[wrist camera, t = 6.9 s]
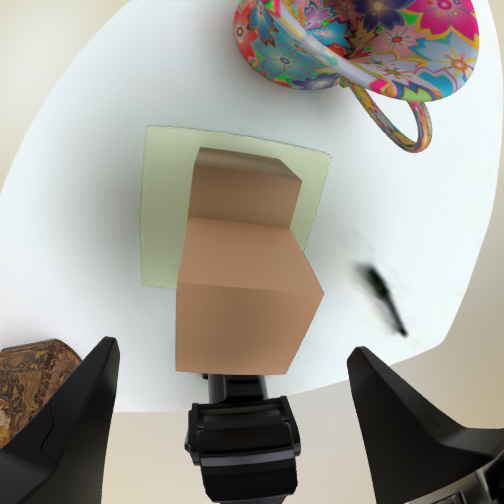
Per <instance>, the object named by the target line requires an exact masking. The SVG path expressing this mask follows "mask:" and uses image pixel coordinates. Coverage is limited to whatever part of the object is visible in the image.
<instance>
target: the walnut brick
mask: <svg viewBox="0 0 504 504" xmlns="http://www.w3.org/2000/svg"><path fill="white" fill-rule="evenodd" d="M301 185H302V180H301V179H300V178H299V177H298V176H297V175H296V174H295V173H294V172H293V171H292V170H291V169H289V168H288V167H287V166H286V165H285V164H284V163H283V162H282V161H281V160H280V159H277V158H271V157H266V156H260V155H254V154H248V153H242V152H235V151H229V150H221V149H214V148H206V147H200V149H199V152H198V154H197V157H196V160H195V163H194V168H193V175H192V183H191V191H190V200H189V209H188V218H189V217H198V218H207V219H215V220H223V221H232V222H240V223H247V224H255V225H263V226H270V227H278V228H285V229H290V225H291V222H292V218H293V214H294V211H295V207H296V203H297V200H298V196H299V192H300V188H301ZM187 223H188V219H187Z"/></svg>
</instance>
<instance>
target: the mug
mask: <svg viewBox="0 0 504 504" xmlns="http://www.w3.org/2000/svg"><path fill="white" fill-rule="evenodd" d="M234 34H235V38H236V41H237V44H238V46H239V48H240V50H241V52H242V54H243V55H244V57H245V58H246V59H247V61H248V62H249V63H250V64H251V65H252V66H253V67H254V68H255V69H256V70H257V71H259V72H260V73H261V74H263V75H264V76H266V77H267V78H269V79H270V80H272V81H274V82H276V83H279V84H281V85H284V86H287V87H291V88H295V89H301V90H320V89H326V88H329V87H332V86H335V85H337V84H340V86H341V87H343V88H345V87H348V86H349V87H350V89H351V90H352V92H353V93H354V95H355V96H356V97H357V99H358V100H359V102H360V103H361V105H362V106H363V107H364V109H365V110H366V111H367V113H368V114H369V115H370V117H371V118H372V119H373V120H374V121H375V123H376V124H377V125H378V126H379V127H380V128H381V130H382V131H383V132H384V133H385V134H386V135H387V136H388V137H389V138H390V139H391V140H392V141H393V142H394V143H395V144H397V145H398V146H399V147H400V148H402V149H403V150H405V151H407V152H410V153H418V152H421V151H423V150H425V149H426V148H427V147H428V146H429V144H430V142H431V138H432V124H431V119H430V115H429V112H428V110H427V107H426V105H425V103H424V102H428V101H435V100H439V99H442V98H445V97H447V96H450V95H451V94H453V93H455V92H456V91H457V90H459V89H460V88H461V87H462V86H463V85H464V84H465V83H466V82H467V80H468V79H469V77H470V76H471V74H472V72H473V70H474V67H475V64H476V61H477V56H478V50H479V30H478V24H477V19H476V14H475V11H474V8H473V5H472V2H471V0H242V1H241V2H240V4H239V6H238V8H237V10H236V13H235V17H234ZM365 88H366V89H369V90H371V91H374V92H376V93H378V94H381V95H384V96H387V97H391V98H395V99H399V100H405V101H407V102H408V104H409V106H410V107H411V109H412V111H413V114H414V116H415V119H416V122H417V127H418V140H417V143H416V142H414V141H412V140H410V139H409V138H407V137H406V136H405V135H404V134H402V133H401V132H400V131H399V130H398V129H397V128H396V127H395V126H394V125H393V124H392V123H391V122H390V121H389V119H388V118H387V117H386V116H385V115H384V114H383V112H382V111H381V110H380V109H379V108H378V106H377V105H376V104H375V102H374V101H373V100H372V98H371V97H370V95H369V94H368V93H367V91H366V90H365Z"/></svg>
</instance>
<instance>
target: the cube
mask: <svg viewBox="0 0 504 504" xmlns="http://www.w3.org/2000/svg"><path fill="white" fill-rule="evenodd" d="M323 295H324V292H323V290H322V288H321V286H320V284H319V282H318V280H317V278H316V276H315V274H314V272H313V270H312V268H311V267H310V265H309V263H308V261H307V259H306V257H305V255H304V253H303V252H302V250H301V248H300V246H299V244H298V242H297V240H296V239H295V237H294V235H293V233H292V231H291V230H290V229H285V228H278V227H270V226H263V225H255V224H247V223H240V222H232V221H223V220H215V219H207V218H198V217H189V218H188V223H187V228H186V233H185V239H184V244H183V249H182V255H181V261H180V267H179V273H178V279H177V294H176V371H181V372H193V373H208V374H231V375H279V374H286V372H287V370H288V368H289V366H290V364H291V362H292V361H293V359H294V357H295V355H296V353H297V351H298V349H299V347H300V345H301V343H302V341H303V338H304V336H305V334H306V332H307V330H308V328H309V326H310V324H311V322H312V320H313V317H314V315H315V313H316V311H317V309H318V306H319V304H320V302H321V300H322V297H323Z"/></svg>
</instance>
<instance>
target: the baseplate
mask: <svg viewBox="0 0 504 504" xmlns="http://www.w3.org/2000/svg"><path fill="white" fill-rule="evenodd" d="M200 147H206V148H214V149H221V150H229V151H235V152H242V153H248V154H254V155H260V156H266V157H271V158H277V159H280V160H281V161H282V162H283V163H284V164H285V165H286V166H287V167H288V168H289V169H291V170H292V171H293V172H294V173H295V174H296V175H297V176H298V177H299V178H300V179H301V180H302V185H301V188H300V192H299V196H298V200H297V203H296V207H295V211H294V214H293V218H292V222H291V225H290V230H291V231H292V233H293V235H294V237H295V239H296V240H297V242H298V244H299V246H300V248H301V250H302V252H304V249H305V246H306V243H307V240H308V236H309V233H310V230H311V227H312V224H313V220H314V217H315V214H316V211H317V207H318V204H319V201H320V197H321V194H322V190H323V187H324V183H325V180H326V176H327V173H328V169H329V166H330V162H331V158H332V156H331V155H330V154H328V153H324V152H320V151H316V150H312V149H308V148H303V147H299V146H295V145H290V144H285V143H281V142H276V141H271V140H265V139H260V138H254V137H249V136H242V135H236V134H230V133H223V132H215V131H207V130H199V129H189V128H178V127H166V126H147V129H146V138H145V148H144V160H143V174H142V192H141V272H142V285H144V286H153V287H162V288H171V289H177V279H178V273H179V267H180V261H181V255H182V249H183V244H184V239H185V233H186V228H187V219H188V209H189V200H190V191H191V183H192V175H193V168H194V163H195V160H196V157H197V154H198V152H199V149H200Z"/></svg>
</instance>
